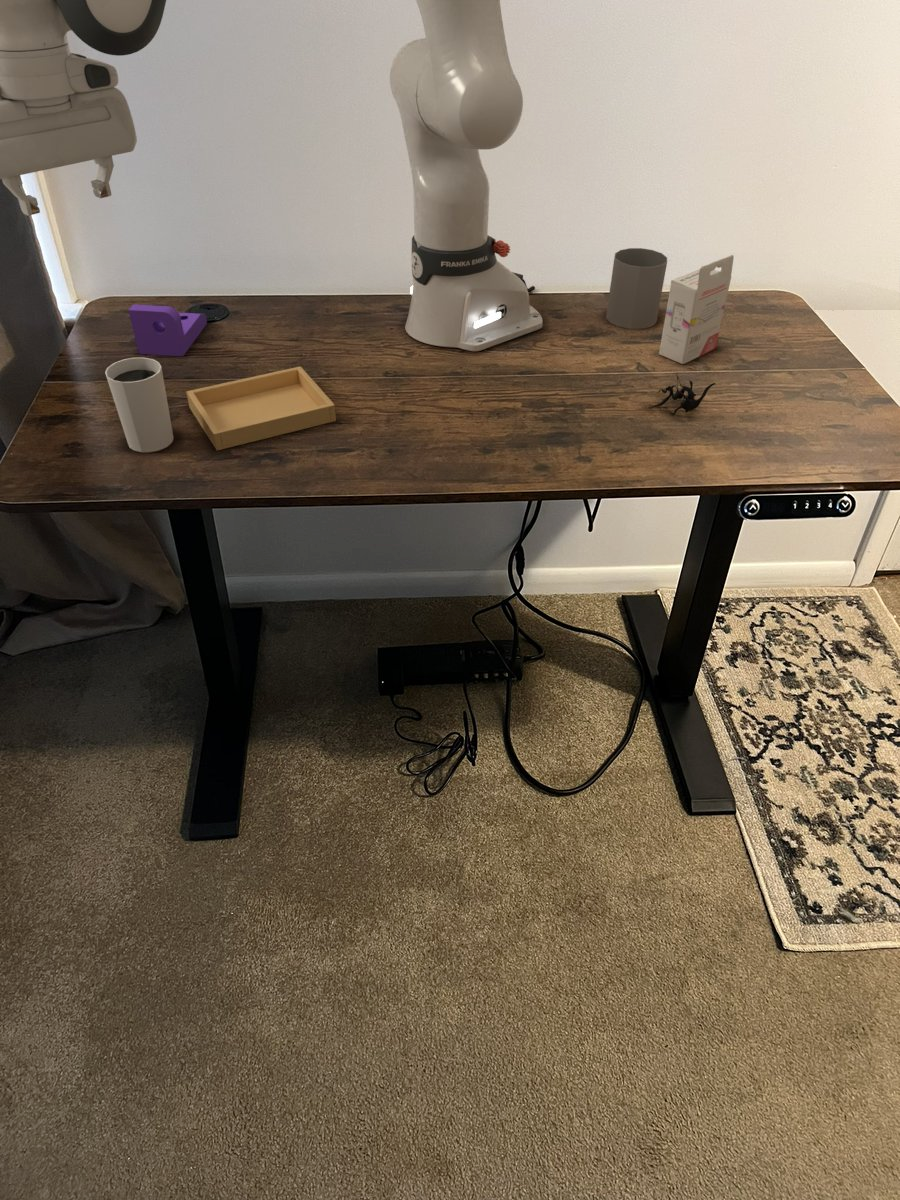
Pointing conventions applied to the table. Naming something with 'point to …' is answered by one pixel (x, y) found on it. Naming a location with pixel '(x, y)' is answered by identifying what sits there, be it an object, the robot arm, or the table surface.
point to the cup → (636, 288)
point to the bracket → (164, 329)
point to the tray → (260, 407)
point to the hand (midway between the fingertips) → (68, 204)
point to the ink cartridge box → (695, 311)
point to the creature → (689, 401)
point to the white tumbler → (141, 403)
